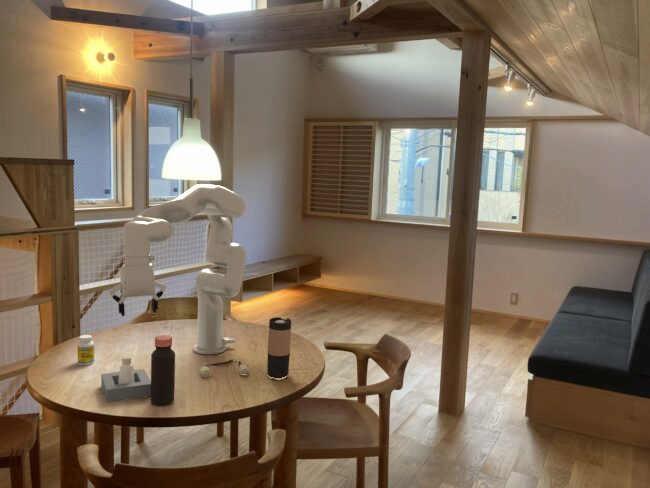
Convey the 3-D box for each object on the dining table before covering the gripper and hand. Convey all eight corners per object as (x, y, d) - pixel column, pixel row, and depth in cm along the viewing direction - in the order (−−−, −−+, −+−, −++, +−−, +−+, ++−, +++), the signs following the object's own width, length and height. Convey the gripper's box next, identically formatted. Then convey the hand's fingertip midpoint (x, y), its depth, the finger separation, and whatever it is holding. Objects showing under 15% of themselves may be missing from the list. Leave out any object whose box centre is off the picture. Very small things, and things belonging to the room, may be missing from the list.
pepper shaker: (117, 395, 168) (117, 360, 166) (116, 388, 173) (116, 354, 171) (136, 393, 170) (136, 359, 168) (134, 386, 175) (135, 353, 173)
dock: (144, 380, 180) (144, 368, 179) (151, 396, 169) (152, 383, 168) (101, 386, 174) (101, 374, 173) (106, 402, 162) (106, 389, 162)
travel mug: (271, 381, 185) (274, 324, 182) (263, 373, 192) (265, 318, 189) (292, 379, 189) (295, 322, 186) (283, 371, 195) (286, 316, 192)
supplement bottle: (92, 359, 196) (92, 333, 194) (95, 364, 191) (95, 337, 190) (76, 361, 193) (76, 335, 191) (79, 366, 188) (78, 339, 187)
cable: (197, 364, 199) (197, 354, 198) (242, 362, 203) (242, 353, 203) (200, 380, 184) (200, 370, 183) (249, 378, 189) (249, 368, 188)
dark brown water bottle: (145, 403, 163) (146, 338, 161) (160, 395, 170) (161, 332, 167) (164, 408, 161) (165, 342, 158) (178, 399, 167) (180, 336, 165)
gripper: (162, 256, 180) (163, 307, 183) (106, 260, 171) (107, 312, 174) (168, 261, 173) (168, 313, 176) (109, 265, 165) (111, 319, 168)
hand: (138, 313), depth 175 cm, fingers open, 9 cm apart
